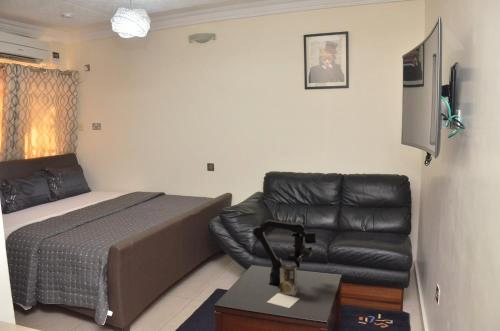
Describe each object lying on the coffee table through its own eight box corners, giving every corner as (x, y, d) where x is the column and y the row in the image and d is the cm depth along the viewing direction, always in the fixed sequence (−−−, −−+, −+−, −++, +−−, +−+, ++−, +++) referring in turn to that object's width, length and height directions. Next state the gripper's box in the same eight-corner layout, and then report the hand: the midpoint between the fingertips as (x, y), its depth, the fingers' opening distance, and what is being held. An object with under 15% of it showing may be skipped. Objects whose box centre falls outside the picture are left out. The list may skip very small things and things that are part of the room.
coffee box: (297, 291, 235) (297, 265, 233) (294, 296, 229) (295, 269, 227) (282, 289, 238) (282, 264, 236) (279, 294, 232) (279, 267, 230)
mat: (266, 302, 221) (266, 301, 221) (277, 293, 233) (277, 293, 233) (289, 308, 214) (289, 307, 214) (299, 298, 225) (299, 298, 225)
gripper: (304, 249, 230) (304, 275, 232) (316, 241, 246) (316, 265, 248) (287, 246, 236) (287, 271, 238) (300, 238, 252) (300, 262, 254)
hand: (298, 267), depth 244 cm, fingers closed
